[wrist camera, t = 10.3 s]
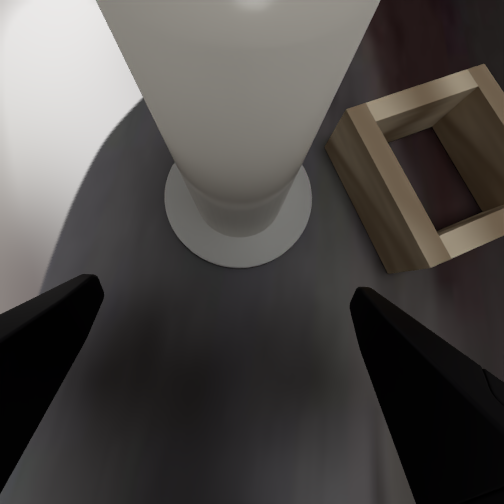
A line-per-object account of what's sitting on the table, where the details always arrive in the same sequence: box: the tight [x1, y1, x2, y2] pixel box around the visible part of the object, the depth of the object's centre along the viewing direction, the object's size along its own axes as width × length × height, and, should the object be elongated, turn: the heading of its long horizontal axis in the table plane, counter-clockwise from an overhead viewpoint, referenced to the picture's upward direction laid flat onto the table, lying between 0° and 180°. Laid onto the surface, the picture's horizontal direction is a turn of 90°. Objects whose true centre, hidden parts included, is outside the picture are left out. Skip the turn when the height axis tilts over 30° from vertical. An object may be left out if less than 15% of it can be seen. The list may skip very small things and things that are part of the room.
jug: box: [96, 0, 380, 237], centre depth 11 cm, size 9×6×13 cm
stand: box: [325, 64, 504, 274], centre depth 17 cm, size 11×11×4 cm
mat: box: [165, 163, 312, 268], centre depth 18 cm, size 11×11×1 cm
